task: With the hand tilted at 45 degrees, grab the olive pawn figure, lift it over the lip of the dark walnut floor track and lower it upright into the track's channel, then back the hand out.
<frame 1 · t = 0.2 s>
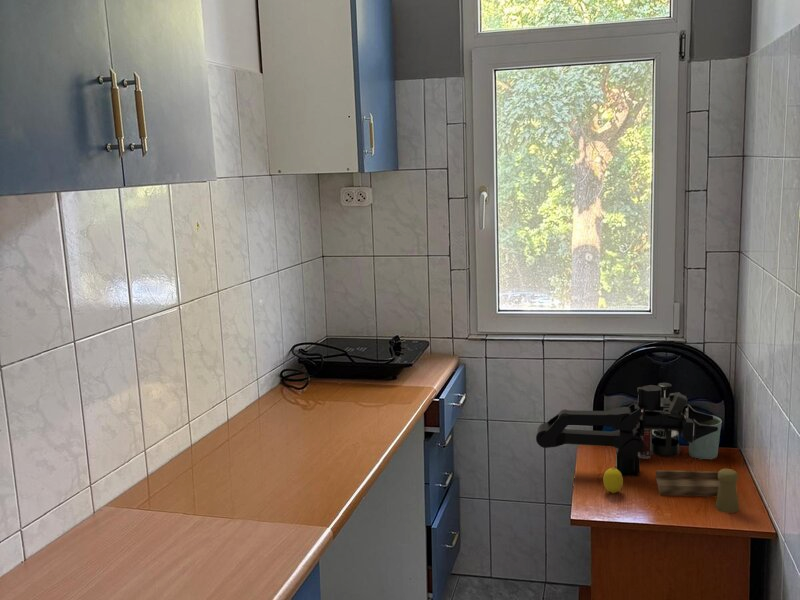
hand: (715, 423, 236), 17 cm above the table, tool horizontal, fingers open, 9 cm apart
lemon: (613, 493, 232), on the table
track: (693, 488, 232), on the table
olive pawn figure: (727, 508, 219), on the table
supplement box: (636, 456, 257), on the table
pale green plant pot: (704, 455, 255), on the table
french press: (663, 451, 259), on the table
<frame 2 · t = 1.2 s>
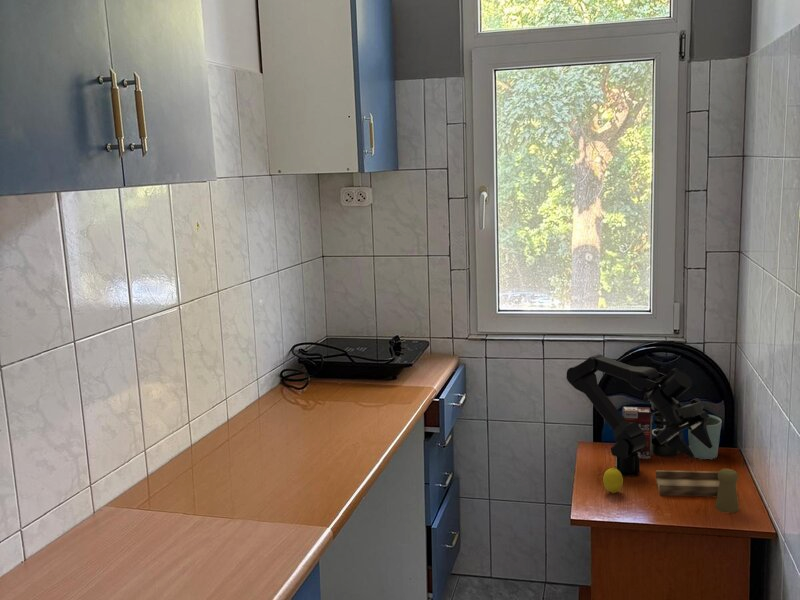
hand: (702, 452, 223), 14 cm above the table, tool tilted 45°, fingers open, 9 cm apart
nothing on the table moved.
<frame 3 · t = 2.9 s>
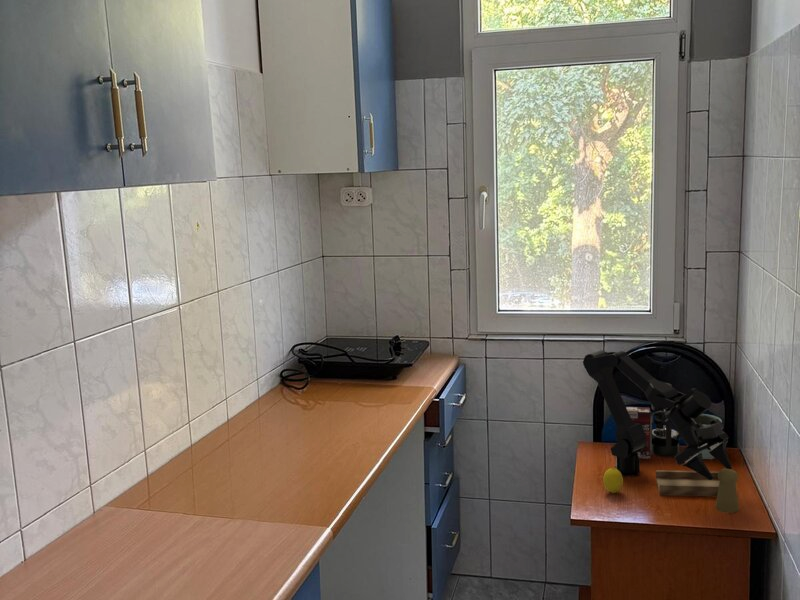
hand: (721, 474, 219), 9 cm above the table, tool tilted 45°, fingers open, 9 cm apart
nothing on the table moved.
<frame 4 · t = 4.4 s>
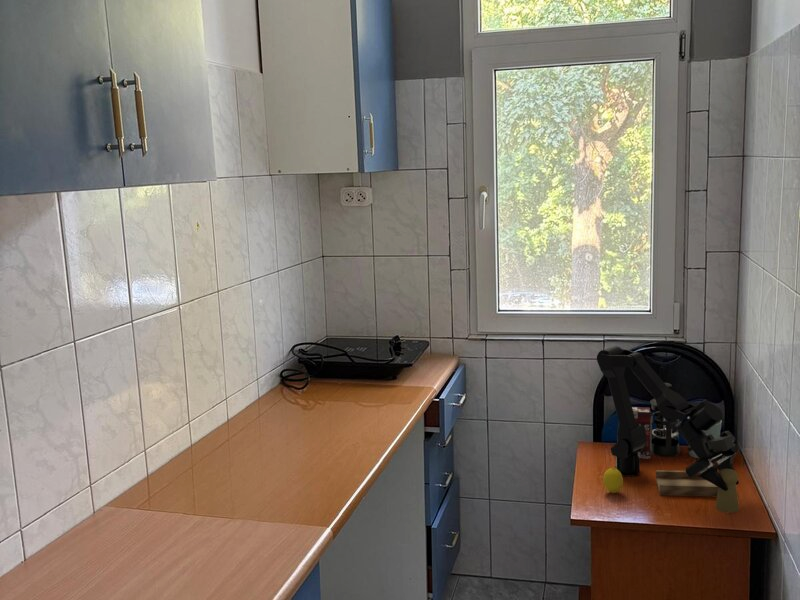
hand: (732, 487, 217), 7 cm above the table, tool tilted 45°, fingers closed on olive pawn figure, 5 cm apart
olive pawn figure: (727, 508, 219), on the table, touching gripper
everything else where it was.
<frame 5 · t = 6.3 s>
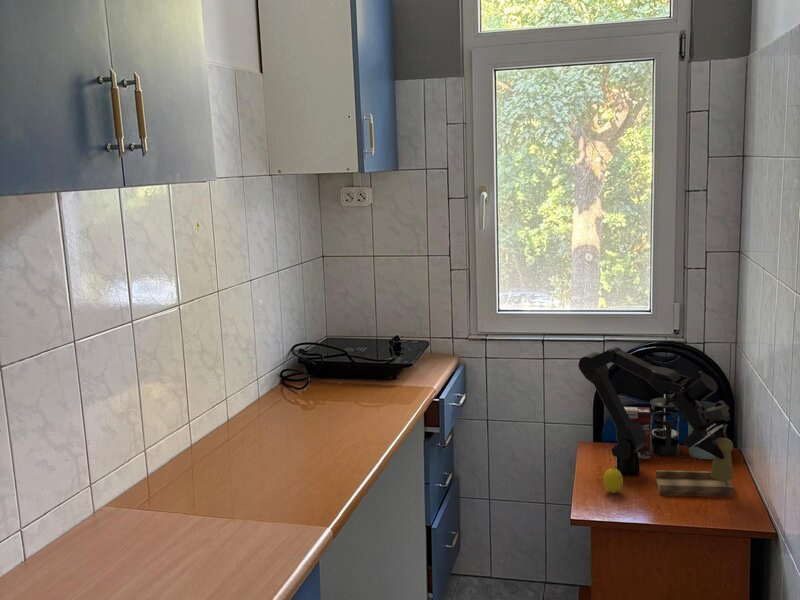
hand: (727, 455, 221), 13 cm above the table, tool tilted 45°, fingers closed on olive pawn figure, 5 cm apart
olive pawn figure: (721, 476, 223), point 6 cm above the table, touching gripper
everything else where it was.
when the fingers open (9 cm above the table, at t = 8.3 s): olive pawn figure drops 1 cm, resting on track.
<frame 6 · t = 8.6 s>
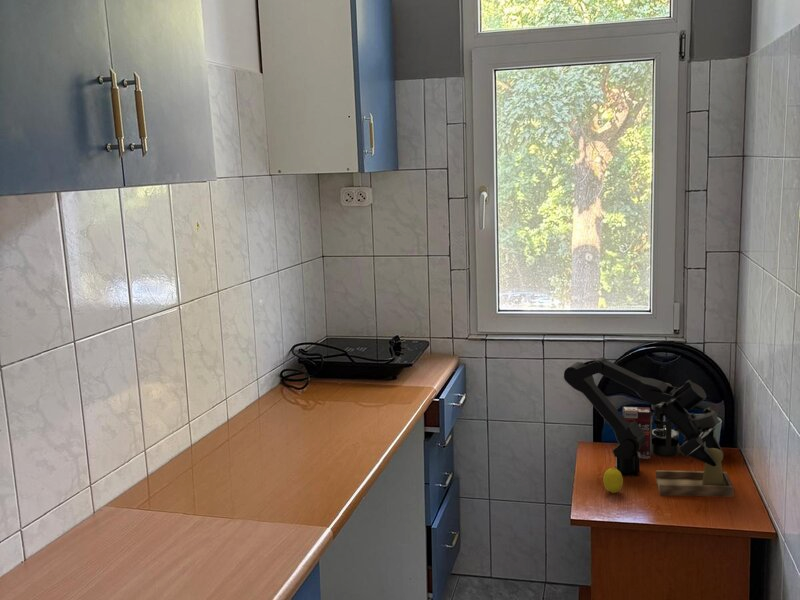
hand: (719, 460, 228), 9 cm above the table, tool tilted 45°, fingers open, 8 cm apart
olive pawn figure: (713, 485, 231), point 1 cm above the table, touching track
everything else where it was.
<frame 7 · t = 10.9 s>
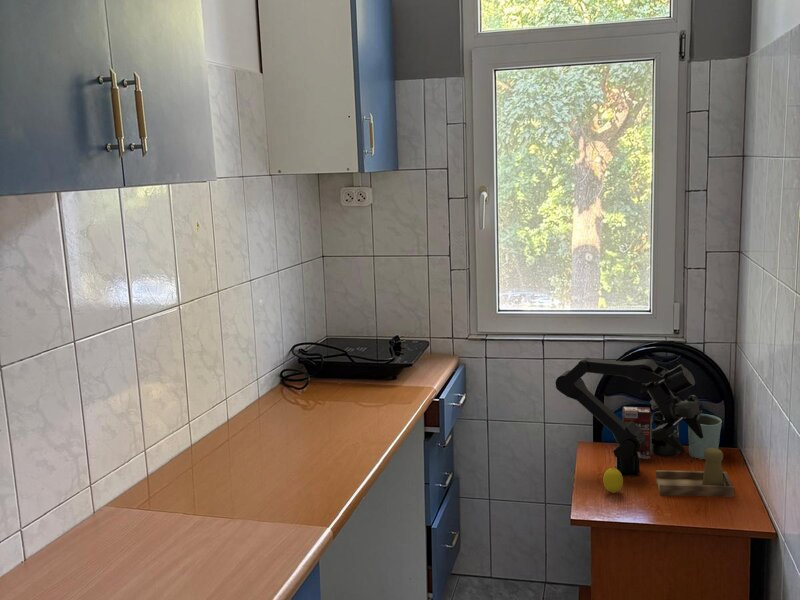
hand: (693, 445, 233), 12 cm above the table, tool tilted 35°, fingers open, 9 cm apart
nothing on the table moved.
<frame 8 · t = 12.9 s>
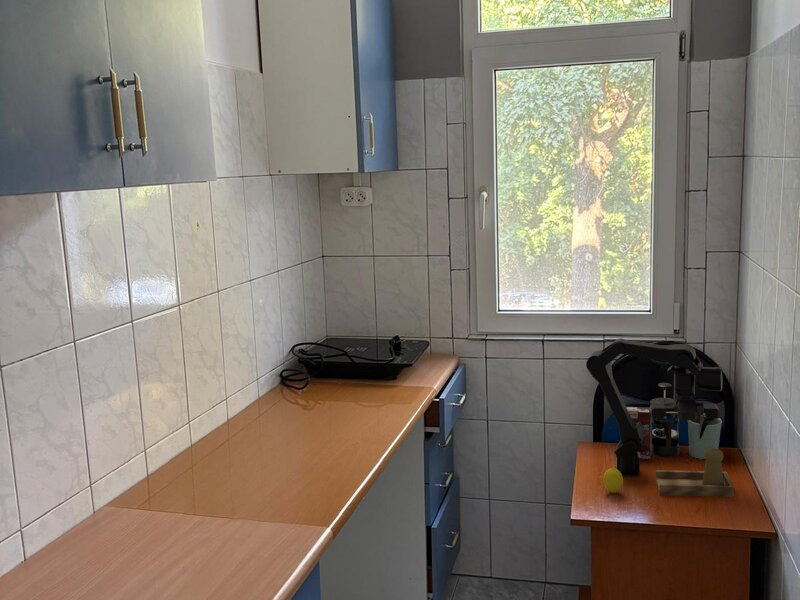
hand: (683, 438, 235), 13 cm above the table, tool pointing down, fingers open, 9 cm apart
nothing on the table moved.
at the end: olive pawn figure inside the target area on the track (5.2 cm from its centre), point 0.8 cm above the track's base; olive pawn figure tilted 0°; the gripper is holding nothing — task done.
